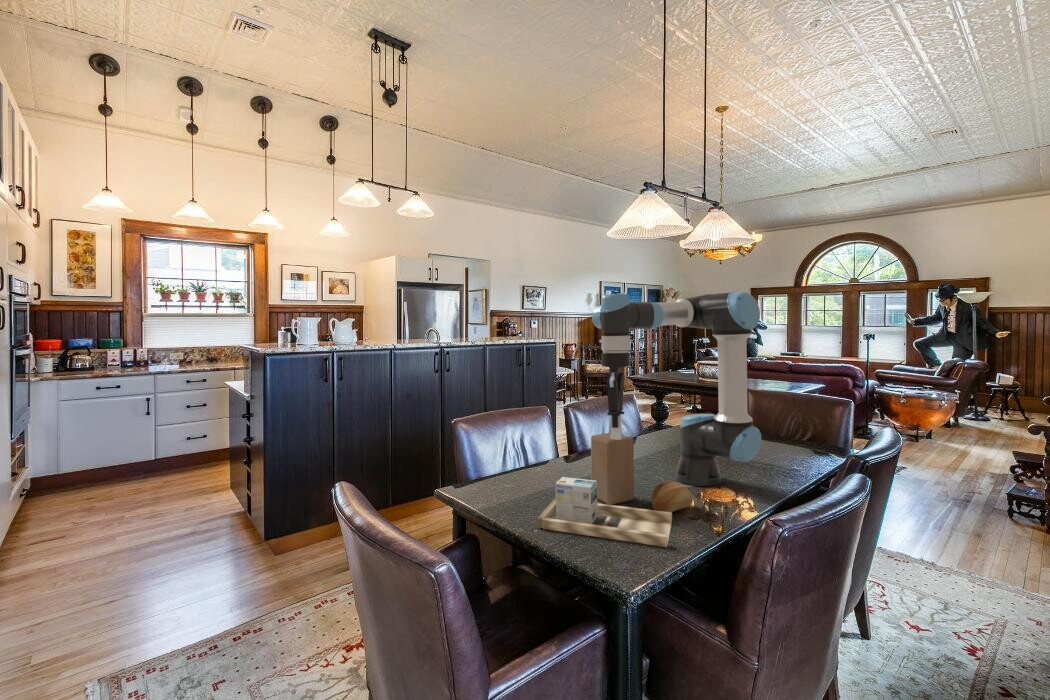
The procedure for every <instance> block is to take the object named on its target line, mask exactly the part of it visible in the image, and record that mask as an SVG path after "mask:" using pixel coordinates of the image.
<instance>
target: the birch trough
mask: <svg viewBox="0 0 1050 700" xmlns="http://www.w3.org/2000/svg"><path fill="white" fill-rule="evenodd" d="M553 515H556V497H555V498H554V499H553V500H552V501H551V502H550V503H549V504H548V506H547V507H546V508H545V509H544V510H543V511H542V512H541V514H540V515H539V516H538V517H537V518H536V529H541V528H543V530H548V529H549V530H550V531H557V532H563V533H569V534H575V535H576V534H577V535H583V536H587V537H588V536H591V537H595V538H596V537H597V538H603V539H609V540H610V539H611V540H615V541H623V542H629V543H635V544H643V545H649V546H650V545H651V546H657V547H664V548H668V545H669V544H668V543H669V539H670V533H671V527H672V521H673V512H665V511H656V510H655V509H646V508H638V507H631V506H624V505H616V504H612V505H608V504H606V503H599V502H597V518H596V519H595V521H594V522H593V524H587V523H580V522H573V521H565V520H558V519H553V518H551V517H552V516H553ZM554 518H556V516H554Z"/></svg>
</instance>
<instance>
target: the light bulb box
mask: <svg viewBox="0 0 1050 700" xmlns="http://www.w3.org/2000/svg"><path fill="white" fill-rule="evenodd" d="M554 487H555V491H554V493H555V498H556V519H558V520H565V521H573V522H580V523H587V524H593V522H594V521H595V519H596V518H597V503H598V499H597V481H596V480H591V479H586V478H584V479H583V478H576V477H575V478H574V477H566V476H561V478H560V479H558V480H557V481H556V482H555V485H554Z"/></svg>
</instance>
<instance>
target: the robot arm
mask: <svg viewBox="0 0 1050 700" xmlns="http://www.w3.org/2000/svg"><path fill="white" fill-rule="evenodd" d="M600 300H601V301H600V305H597V306H596V307H595V308H594V309H593V311H592V314H591V322H592V323H593V325H594V327H596V328H597V329H600V330H601V331H600V333H601V334H600V336H601V339H599V341H598V342H599V343H600V344H601V346H600V347H601V351H603V352H602V353H601V354H600V355H601V358H600V361H601V364H600V365H601V366H602V367H605V368H608V373H607V374H606V381H605V383H606V390H607V402H608V405H607V406H608V412H607V416H610V419H609V421H610V433H611V439H617V440H621V439H622V435H623V434H622V432H623V431H622V430H623V429H622V415H625V411H623V410H624V407H623V405H624V382H625V381H624V380H625V373H624V372H623V368H627V367H630V365H631V358H630V357H631V354H630V353H629V352H628V351H630V350H631V336H630V332H631V330H652V329H657V328H659V327H660V326H663V327H665V326H676V327H678V328H695V329H703V330H706V329H707V330H711V332H712V337H714V338H715V339H716V342H717V383H718V385H717V386H718V389H717V390H718V391H717V392H718V393H717V394H718V396H717V397H718V413H717V414H715V413H696V414H693V413H692V414H686V415H684V416H682V417H681V419H680V420H681V421H680V428H679V429H680V458H679V461H678V463H677V467H676V470H675V480H676V481H678V482H679V483H681V484H685V485H690V486H695V487H697V486H698V487H714V486H718V485H720V484H721V483H722V475H721V472H720V468H719V465H718V462H717V457H721V458H725V459H729V460H731V461H734V462H735V461H738V462H741V463H742V462H743V463H745V462H749V461H751V460H752V459H754V458H755V457H756V455H757V453H758V452H759V450H760V448H761V444H762V433H761V431H760V429H759V428H758V427H756V426H754V422H753V421H754V420H753V419H754V418H753V417H752V416H750V415H749V413H748V364H747V362H748V361H747V360H748V359H747V358H748V356H747V355H748V353H747V349H748V348H747V340H748V339H749V337H751V336H752V335H753V334H752V333H753V332H752V330H753V329H755V328H757V326H758V325H759V321H760V319H761V311H760V307H759V304H758V301H757V300H756V298H755V297H754V296H753V295H752V294H751V293H748V292H744V291H732V292H721V293H711V294H710V293H709V294H702V295H697V296H693V297H688V298H687V297H686V298H678V299H676V300H675V301H663V302H661V301H660V302H652V301H631V300H630V295H629V294H628V293H627V294H626V293H607V294H604V295H602V297H601V299H600Z"/></svg>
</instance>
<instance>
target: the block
mask: <svg viewBox="0 0 1050 700" xmlns="http://www.w3.org/2000/svg"><path fill="white" fill-rule="evenodd" d="M634 442H635V441H634V438H633V437H631V436H629V435H628V436H627V435H625V434H622V439H621V440H617V439H611V432H606V433H599V434H593V435H591V436H590V474H591V475H590V480H596V481H597V500H599V501H600V502H603V504H608V505H616V504H620V503H624V502H625V503H626V502H629V501H633V500H634V498H635V493H634V491H635V486H634V485H635V479H634V470H635V468H634V467H635V465H634V463H635V462H634V461H635V458H634V454H635V452H634V451H635V448H634V447H635V445H634Z"/></svg>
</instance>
